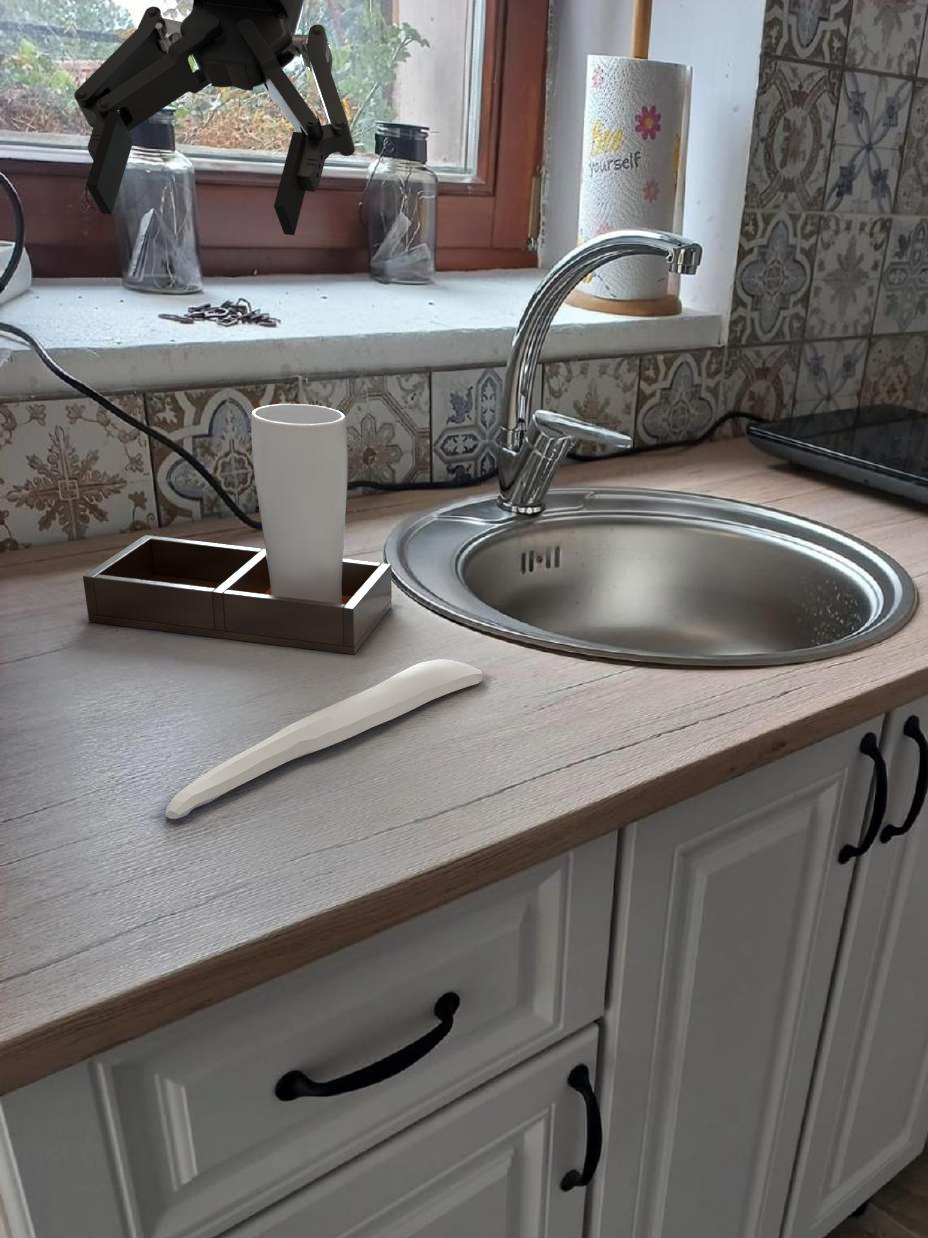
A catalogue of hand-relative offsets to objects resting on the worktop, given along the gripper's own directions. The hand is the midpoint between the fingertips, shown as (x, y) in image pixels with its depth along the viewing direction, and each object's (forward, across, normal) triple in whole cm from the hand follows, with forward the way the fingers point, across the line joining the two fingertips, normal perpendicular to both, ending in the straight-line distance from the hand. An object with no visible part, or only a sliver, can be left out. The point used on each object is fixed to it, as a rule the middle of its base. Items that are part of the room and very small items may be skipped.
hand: (191, 210), depth 89 cm
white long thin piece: (+37, -17, -2) cm, 41 cm away
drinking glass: (+23, -10, -15) cm, 29 cm away
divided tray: (+24, -5, -16) cm, 29 cm away
